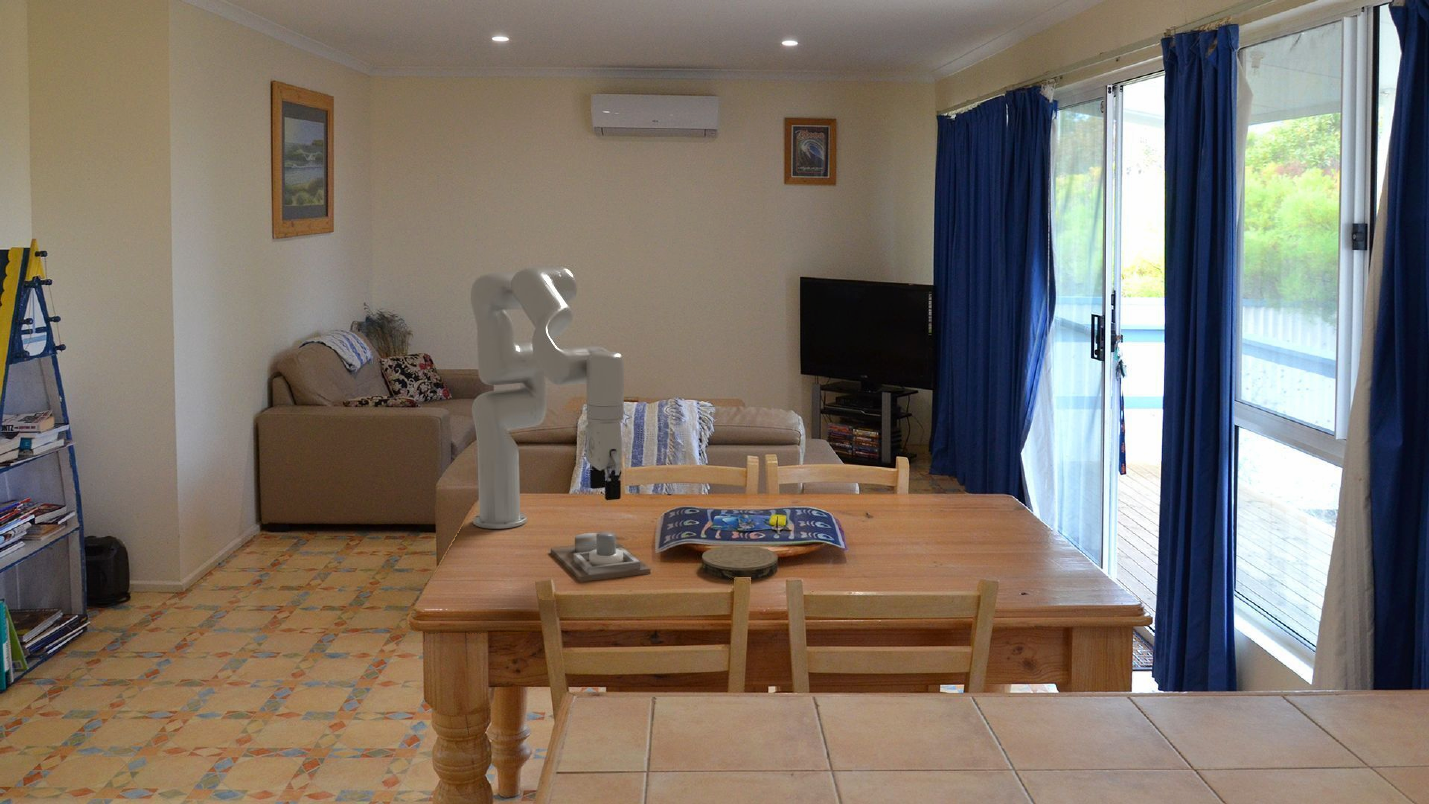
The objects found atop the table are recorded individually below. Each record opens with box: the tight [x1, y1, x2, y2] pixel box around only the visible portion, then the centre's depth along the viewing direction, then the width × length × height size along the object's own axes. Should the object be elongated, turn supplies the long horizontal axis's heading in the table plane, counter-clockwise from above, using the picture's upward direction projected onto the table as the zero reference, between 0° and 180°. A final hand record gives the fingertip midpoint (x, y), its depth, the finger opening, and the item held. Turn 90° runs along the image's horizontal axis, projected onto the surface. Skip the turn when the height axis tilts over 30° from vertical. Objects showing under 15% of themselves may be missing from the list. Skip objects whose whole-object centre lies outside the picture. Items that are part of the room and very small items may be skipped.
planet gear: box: [589, 531, 623, 566], centre depth 250 cm, size 7×7×6 cm
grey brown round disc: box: [701, 545, 779, 581], centre depth 252 cm, size 16×16×3 cm
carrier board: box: [550, 532, 651, 583], centre depth 255 cm, size 22×15×4 cm
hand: (605, 493), depth 249 cm, fingers open, 9 cm apart
